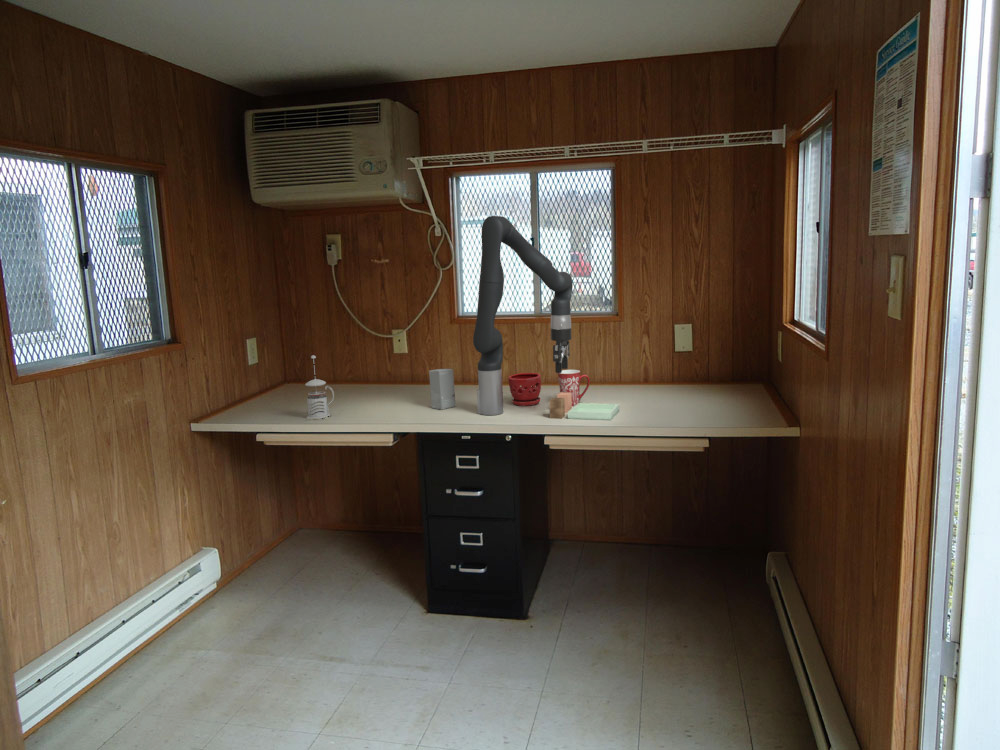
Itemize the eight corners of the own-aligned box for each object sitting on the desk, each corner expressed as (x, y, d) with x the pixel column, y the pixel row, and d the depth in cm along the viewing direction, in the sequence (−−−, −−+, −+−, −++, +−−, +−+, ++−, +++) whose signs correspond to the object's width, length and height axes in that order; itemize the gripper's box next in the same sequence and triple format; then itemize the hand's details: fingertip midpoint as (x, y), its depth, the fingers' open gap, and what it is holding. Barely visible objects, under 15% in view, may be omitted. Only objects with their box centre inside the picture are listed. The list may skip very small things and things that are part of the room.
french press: (308, 415, 296) (302, 354, 292) (337, 413, 297) (331, 352, 293) (304, 420, 287) (298, 357, 282) (334, 418, 288) (328, 356, 283)
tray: (567, 418, 268) (567, 411, 268) (578, 409, 283) (578, 402, 282) (610, 420, 263) (610, 413, 262) (619, 410, 277) (619, 404, 277)
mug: (558, 407, 289) (557, 373, 286) (558, 402, 298) (557, 369, 295) (590, 406, 288) (589, 372, 285) (589, 401, 296) (589, 368, 294)
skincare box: (441, 410, 293) (439, 371, 291) (429, 408, 298) (427, 370, 296) (456, 406, 300) (454, 368, 297) (445, 404, 304) (442, 367, 302)
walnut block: (550, 418, 270) (549, 400, 269) (553, 415, 274) (552, 397, 273) (561, 418, 269) (561, 400, 268) (564, 416, 273) (564, 397, 272)
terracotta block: (557, 412, 280) (556, 394, 278) (560, 410, 284) (560, 392, 282) (568, 412, 278) (568, 394, 277) (571, 410, 282) (571, 392, 281)
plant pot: (516, 400, 306) (514, 372, 304) (545, 401, 301) (544, 372, 299) (505, 406, 294) (503, 377, 292) (536, 407, 289) (534, 378, 287)
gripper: (556, 324, 274) (557, 367, 276) (545, 329, 260) (546, 373, 263) (575, 325, 271) (576, 368, 274) (565, 329, 258) (566, 374, 261)
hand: (561, 370), depth 269 cm, fingers open, 8 cm apart
